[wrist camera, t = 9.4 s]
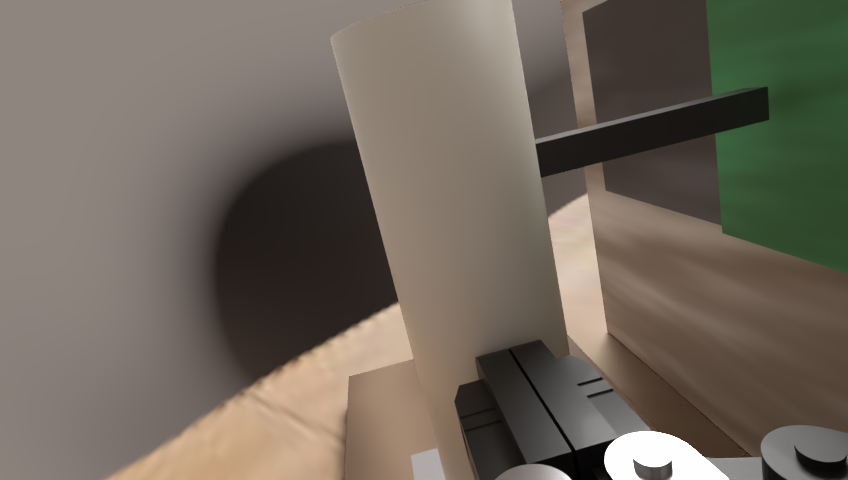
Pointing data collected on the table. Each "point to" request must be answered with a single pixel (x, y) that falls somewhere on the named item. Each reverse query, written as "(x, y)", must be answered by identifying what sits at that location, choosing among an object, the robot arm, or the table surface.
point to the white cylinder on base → (477, 187)
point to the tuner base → (697, 222)
